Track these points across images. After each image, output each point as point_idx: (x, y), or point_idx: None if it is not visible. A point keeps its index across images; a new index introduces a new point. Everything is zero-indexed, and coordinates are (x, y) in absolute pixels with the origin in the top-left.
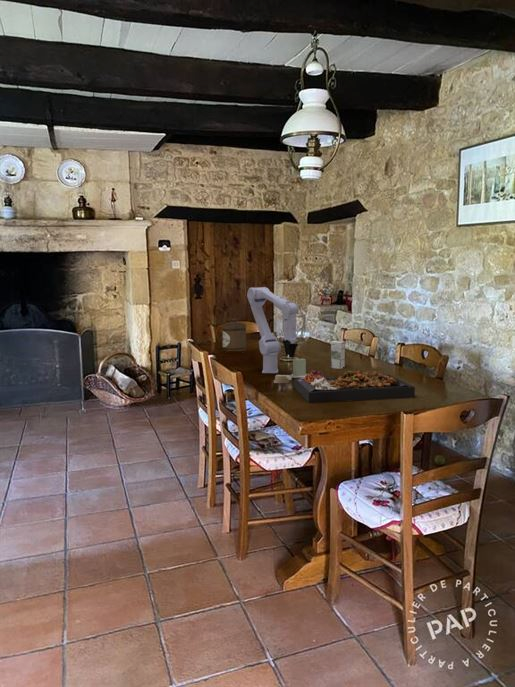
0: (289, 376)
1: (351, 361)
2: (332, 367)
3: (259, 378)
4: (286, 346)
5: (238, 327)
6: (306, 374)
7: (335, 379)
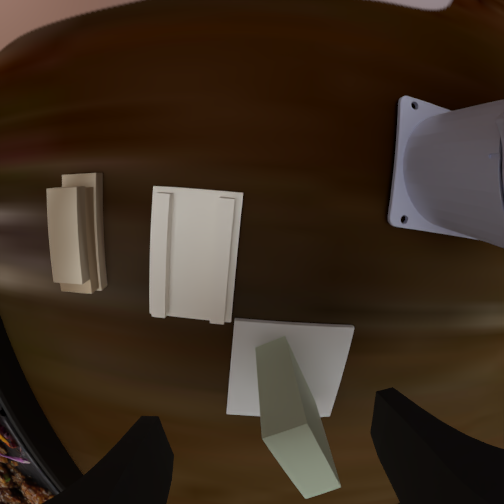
0: (210, 309)
1: None
2: None
3: (233, 60)
4: (434, 485)
5: None
6: None
7: (46, 481)
